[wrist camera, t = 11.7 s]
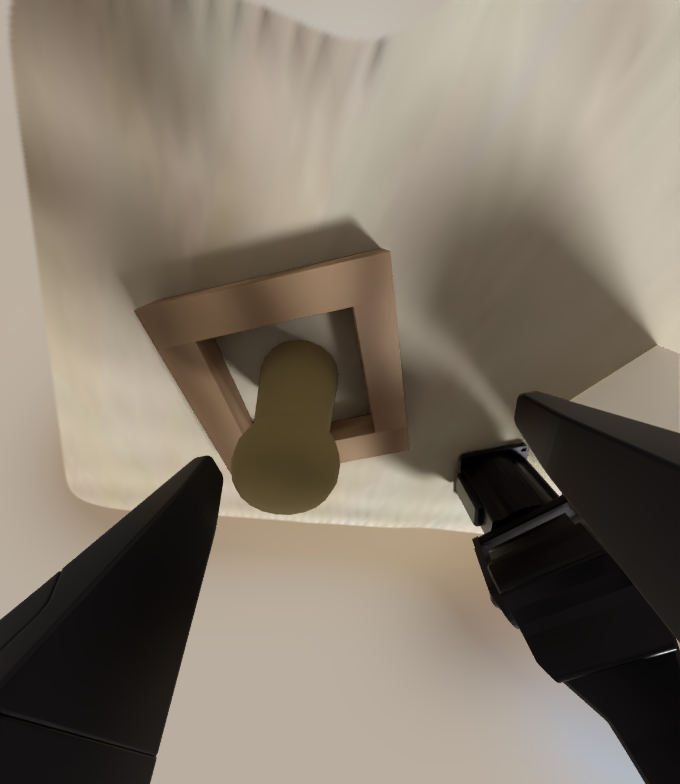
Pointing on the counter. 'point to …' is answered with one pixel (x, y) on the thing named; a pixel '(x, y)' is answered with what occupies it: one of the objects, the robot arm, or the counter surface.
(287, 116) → the counter surface
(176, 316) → the socket block
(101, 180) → the counter surface
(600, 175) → the counter surface
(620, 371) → the milk
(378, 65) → the counter surface
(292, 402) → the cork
